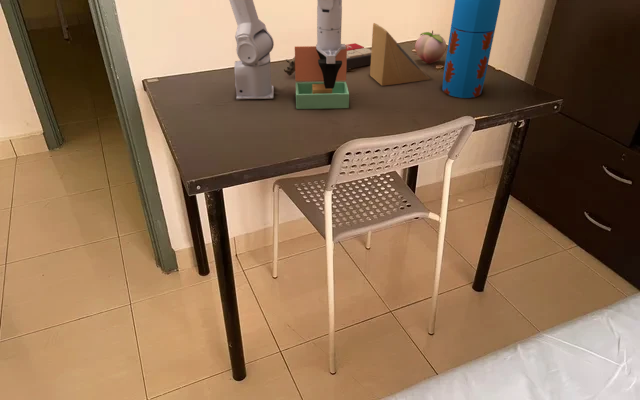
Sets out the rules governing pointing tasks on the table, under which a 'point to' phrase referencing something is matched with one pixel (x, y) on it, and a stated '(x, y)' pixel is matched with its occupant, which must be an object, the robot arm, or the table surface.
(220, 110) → the table surface
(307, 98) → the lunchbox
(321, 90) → the block
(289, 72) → the rhino figurine
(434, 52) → the decorative fruit
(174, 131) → the table surface
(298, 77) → the lid
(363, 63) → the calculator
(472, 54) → the thermos
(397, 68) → the sandwich container
